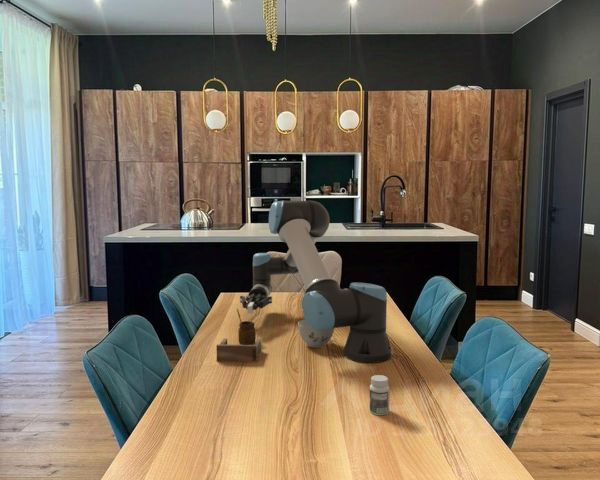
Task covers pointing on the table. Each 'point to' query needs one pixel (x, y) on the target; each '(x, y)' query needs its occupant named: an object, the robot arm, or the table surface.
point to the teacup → (314, 335)
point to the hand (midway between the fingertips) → (249, 310)
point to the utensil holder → (246, 332)
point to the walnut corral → (238, 352)
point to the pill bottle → (379, 395)
